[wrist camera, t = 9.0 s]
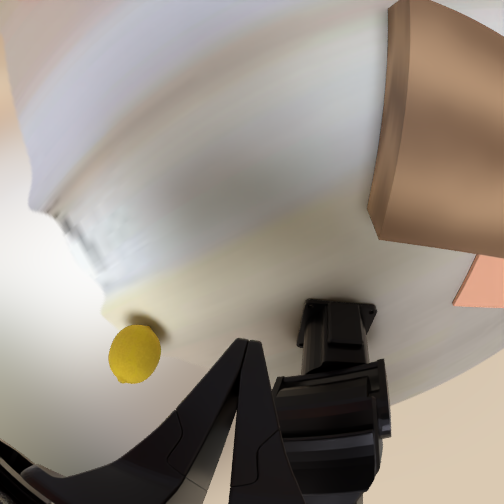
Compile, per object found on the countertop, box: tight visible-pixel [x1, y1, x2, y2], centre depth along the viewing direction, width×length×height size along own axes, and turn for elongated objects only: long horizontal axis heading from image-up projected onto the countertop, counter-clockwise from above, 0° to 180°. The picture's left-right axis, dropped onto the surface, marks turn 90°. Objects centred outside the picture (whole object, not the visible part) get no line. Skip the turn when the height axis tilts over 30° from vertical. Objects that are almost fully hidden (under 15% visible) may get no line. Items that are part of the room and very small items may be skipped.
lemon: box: [109, 325, 161, 384], centre depth 27 cm, size 6×6×8 cm
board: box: [367, 0, 504, 259], centre depth 12 cm, size 14×11×4 cm
